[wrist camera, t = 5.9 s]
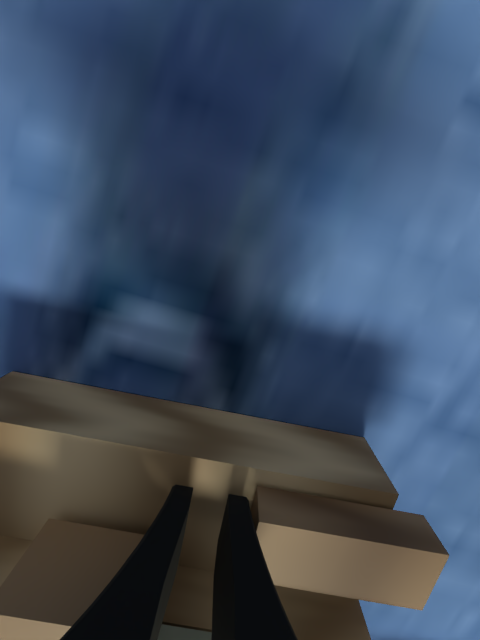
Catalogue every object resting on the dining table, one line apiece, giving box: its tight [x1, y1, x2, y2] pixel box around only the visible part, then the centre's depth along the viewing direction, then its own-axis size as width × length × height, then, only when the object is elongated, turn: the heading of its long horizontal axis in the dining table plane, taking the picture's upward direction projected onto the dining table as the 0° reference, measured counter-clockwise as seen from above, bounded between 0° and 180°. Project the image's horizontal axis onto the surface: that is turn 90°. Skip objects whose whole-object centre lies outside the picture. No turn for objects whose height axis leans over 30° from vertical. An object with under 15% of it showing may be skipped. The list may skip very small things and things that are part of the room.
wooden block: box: [251, 485, 449, 610], centre depth 10 cm, size 6×2×1 cm, turn 79°
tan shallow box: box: [0, 371, 399, 640], centre depth 13 cm, size 16×17×5 cm
